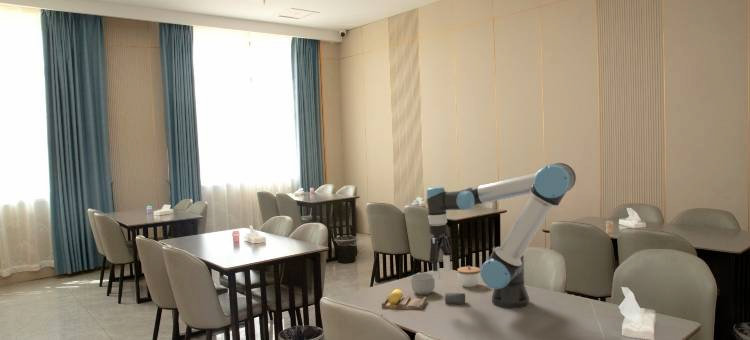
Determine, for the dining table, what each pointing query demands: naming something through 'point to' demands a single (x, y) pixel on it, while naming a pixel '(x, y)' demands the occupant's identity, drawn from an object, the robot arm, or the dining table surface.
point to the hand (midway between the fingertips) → (442, 274)
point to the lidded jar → (469, 276)
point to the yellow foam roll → (395, 296)
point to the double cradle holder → (405, 303)
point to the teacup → (423, 283)
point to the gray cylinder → (455, 298)
